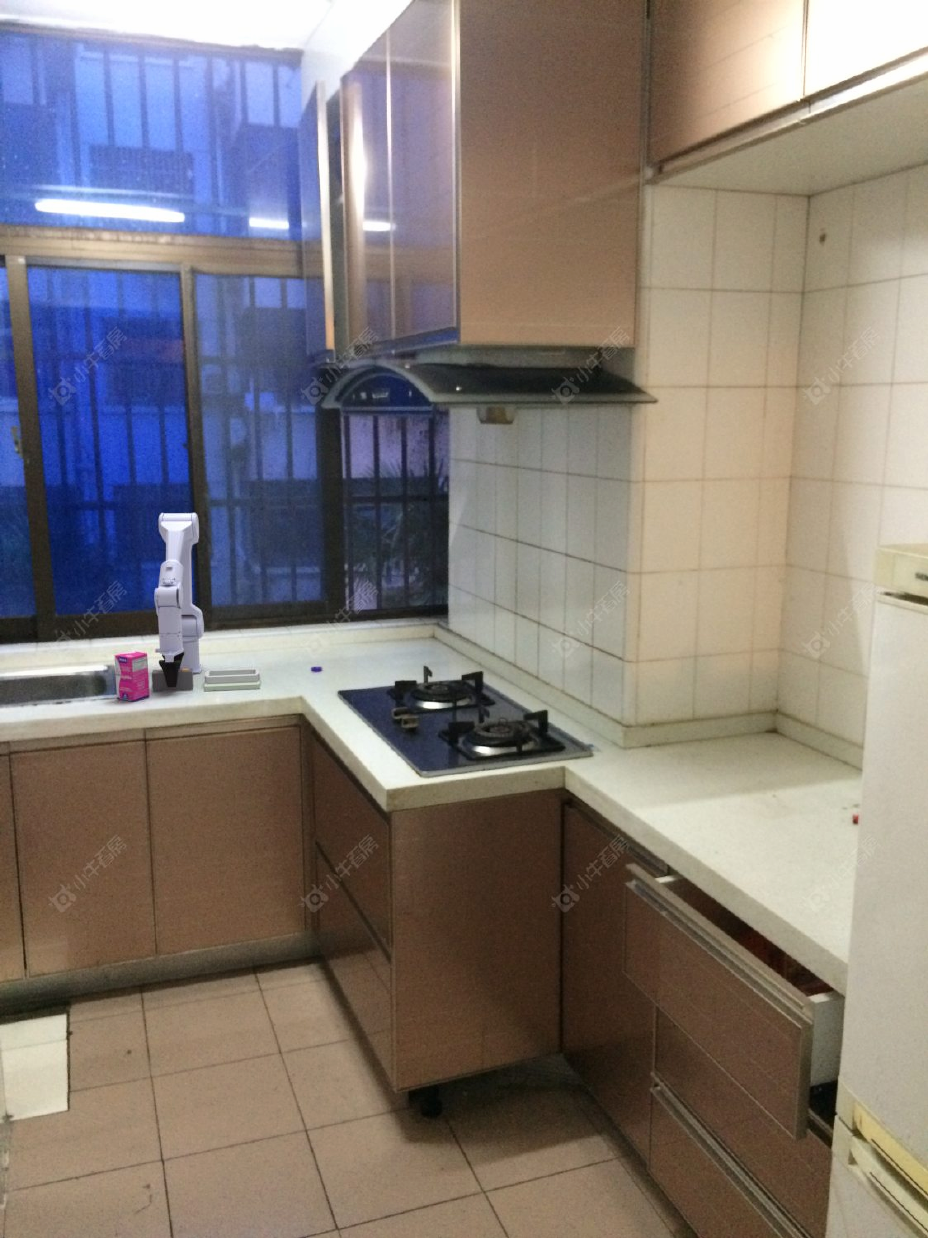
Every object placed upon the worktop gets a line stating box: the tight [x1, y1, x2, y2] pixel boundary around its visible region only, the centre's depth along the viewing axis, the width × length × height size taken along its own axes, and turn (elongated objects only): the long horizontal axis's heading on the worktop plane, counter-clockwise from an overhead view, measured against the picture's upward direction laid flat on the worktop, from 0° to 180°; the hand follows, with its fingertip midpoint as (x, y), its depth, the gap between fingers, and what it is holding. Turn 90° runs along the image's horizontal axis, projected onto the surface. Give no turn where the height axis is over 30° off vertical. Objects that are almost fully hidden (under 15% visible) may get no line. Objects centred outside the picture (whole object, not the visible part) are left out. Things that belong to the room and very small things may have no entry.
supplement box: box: [113, 650, 151, 703], centre depth 256 cm, size 6×6×12 cm
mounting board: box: [203, 667, 261, 692], centre depth 272 cm, size 14×14×3 cm
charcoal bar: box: [151, 668, 194, 693], centre depth 266 cm, size 4×10×5 cm, turn 102°
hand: (173, 683), depth 266 cm, fingers open, 7 cm apart
